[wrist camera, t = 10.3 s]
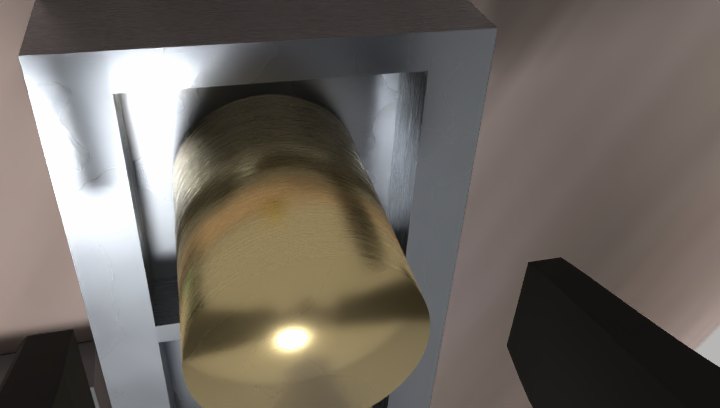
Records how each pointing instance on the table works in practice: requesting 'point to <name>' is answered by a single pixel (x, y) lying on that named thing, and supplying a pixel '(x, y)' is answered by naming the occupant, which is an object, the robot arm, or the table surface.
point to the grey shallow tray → (220, 87)
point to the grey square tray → (91, 368)
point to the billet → (288, 264)
